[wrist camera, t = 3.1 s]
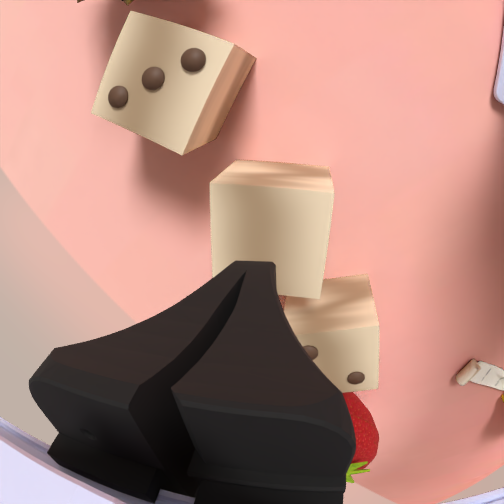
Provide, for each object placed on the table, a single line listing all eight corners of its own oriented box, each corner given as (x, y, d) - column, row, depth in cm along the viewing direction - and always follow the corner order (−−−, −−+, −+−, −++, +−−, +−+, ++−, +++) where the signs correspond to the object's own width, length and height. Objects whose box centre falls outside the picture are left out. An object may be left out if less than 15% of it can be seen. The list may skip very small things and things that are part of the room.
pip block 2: (367, 272, 19) (379, 326, 15) (370, 333, 21) (378, 389, 17) (286, 283, 20) (277, 338, 16) (298, 341, 22) (292, 397, 18)
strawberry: (323, 416, 26) (315, 516, 17) (281, 368, 24) (260, 485, 15) (385, 397, 24) (393, 502, 15) (352, 342, 22) (358, 470, 13)
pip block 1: (256, 58, 15) (233, 43, 10) (216, 138, 17) (180, 156, 13) (174, 27, 14) (126, 9, 10) (140, 104, 17) (87, 112, 12)
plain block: (328, 166, 17) (334, 193, 12) (319, 250, 19) (319, 299, 15) (236, 159, 17) (209, 182, 13) (236, 241, 20) (212, 286, 15)
